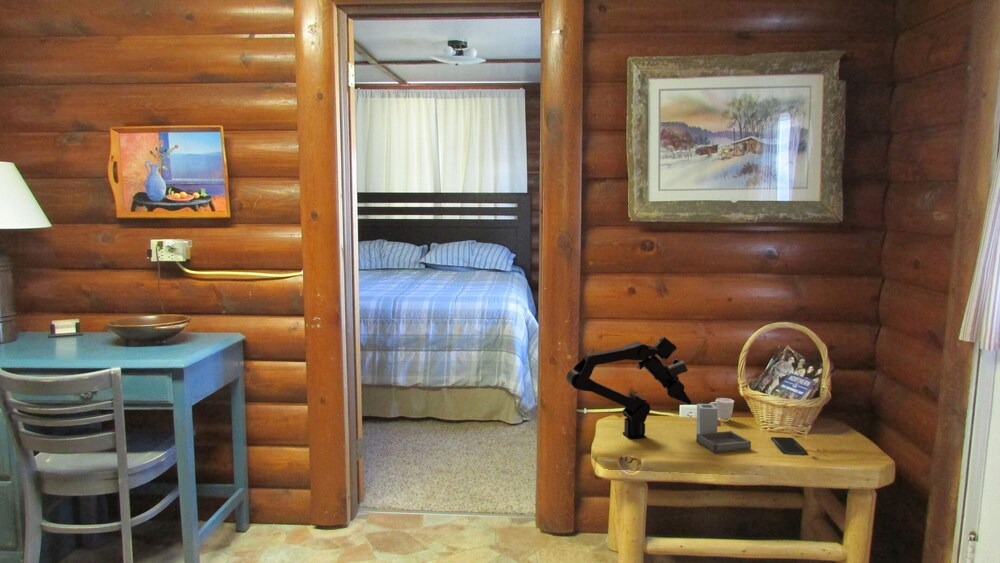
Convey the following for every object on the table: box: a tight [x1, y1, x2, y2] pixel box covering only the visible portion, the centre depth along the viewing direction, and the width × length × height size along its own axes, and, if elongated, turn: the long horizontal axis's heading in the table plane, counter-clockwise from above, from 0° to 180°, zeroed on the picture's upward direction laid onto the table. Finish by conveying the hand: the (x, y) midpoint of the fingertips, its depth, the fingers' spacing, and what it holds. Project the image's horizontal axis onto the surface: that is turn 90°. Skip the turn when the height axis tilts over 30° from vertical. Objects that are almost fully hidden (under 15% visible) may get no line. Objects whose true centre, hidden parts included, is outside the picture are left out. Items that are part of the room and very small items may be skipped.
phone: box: [770, 436, 808, 456], centre depth 222 cm, size 8×1×15 cm
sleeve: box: [696, 403, 722, 435], centre depth 233 cm, size 8×6×11 cm
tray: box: [695, 430, 752, 454], centre depth 223 cm, size 14×12×3 cm
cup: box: [709, 397, 735, 420], centre depth 251 cm, size 7×10×8 cm
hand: (688, 399), depth 233 cm, fingers open, 9 cm apart
